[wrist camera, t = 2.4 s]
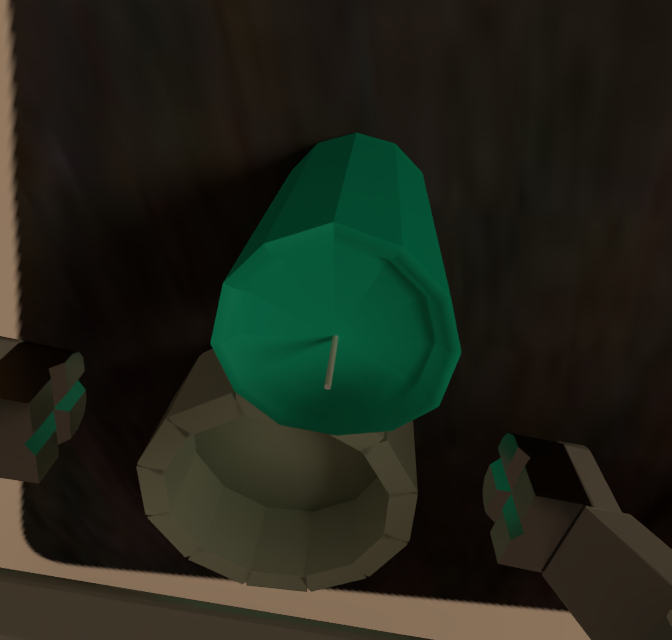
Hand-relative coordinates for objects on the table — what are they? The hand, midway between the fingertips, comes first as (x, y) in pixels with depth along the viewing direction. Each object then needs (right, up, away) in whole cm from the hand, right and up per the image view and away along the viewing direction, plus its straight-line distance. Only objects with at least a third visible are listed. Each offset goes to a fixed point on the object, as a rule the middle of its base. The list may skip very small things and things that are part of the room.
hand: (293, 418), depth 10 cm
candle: (+2, +7, +12) cm, 13 cm away
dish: (-2, -4, +18) cm, 18 cm away
